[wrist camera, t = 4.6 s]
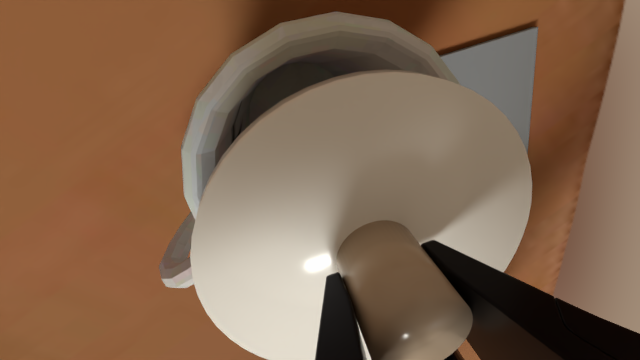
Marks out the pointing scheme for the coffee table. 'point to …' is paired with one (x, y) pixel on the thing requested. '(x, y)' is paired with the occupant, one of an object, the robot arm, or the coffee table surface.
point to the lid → (359, 214)
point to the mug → (281, 94)
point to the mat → (501, 74)
